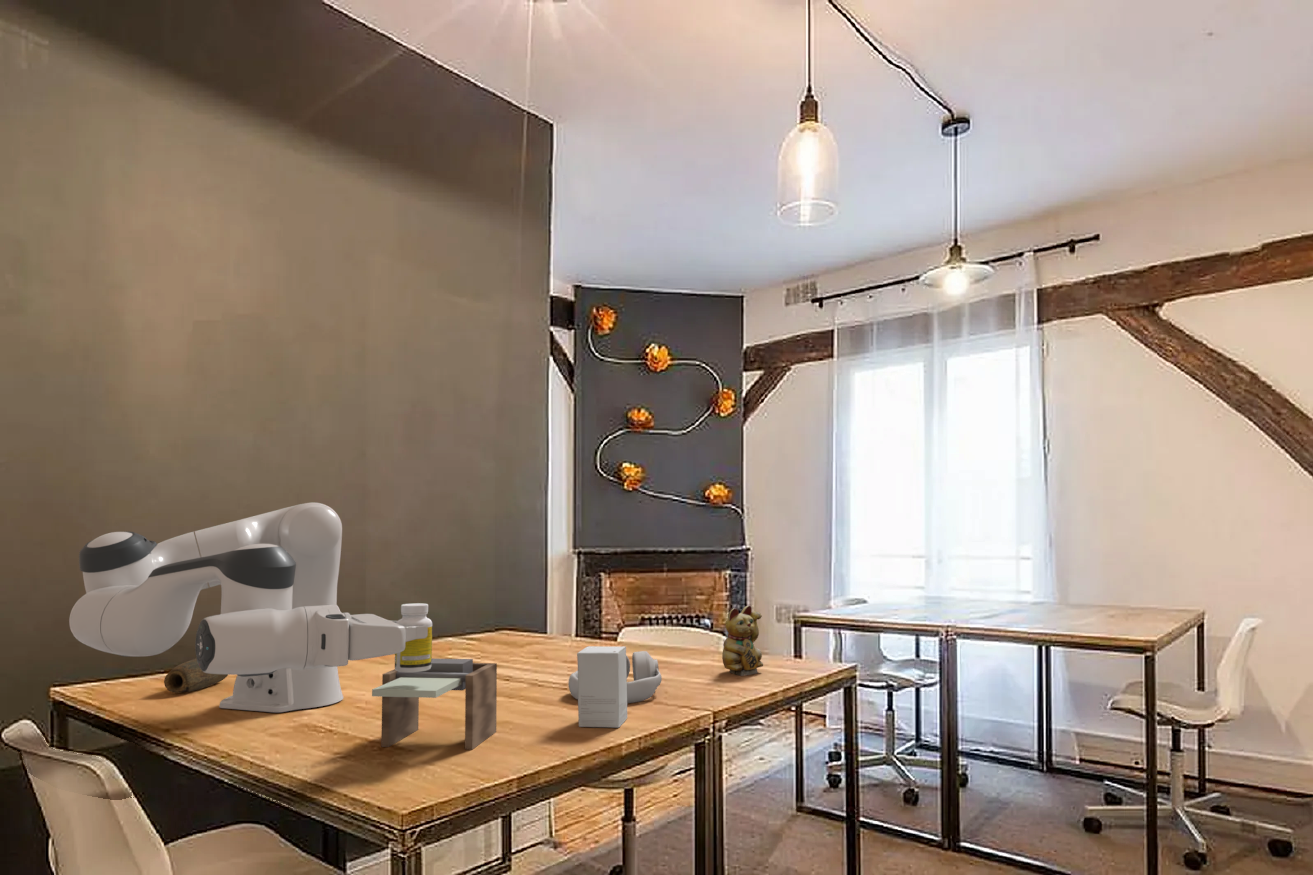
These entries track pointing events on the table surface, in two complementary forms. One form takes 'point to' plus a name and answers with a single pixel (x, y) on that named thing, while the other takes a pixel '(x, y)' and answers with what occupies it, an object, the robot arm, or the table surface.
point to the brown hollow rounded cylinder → (190, 678)
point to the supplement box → (602, 686)
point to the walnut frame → (478, 708)
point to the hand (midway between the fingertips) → (420, 629)
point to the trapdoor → (428, 680)
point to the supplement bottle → (416, 650)
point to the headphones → (643, 676)
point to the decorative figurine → (742, 642)
